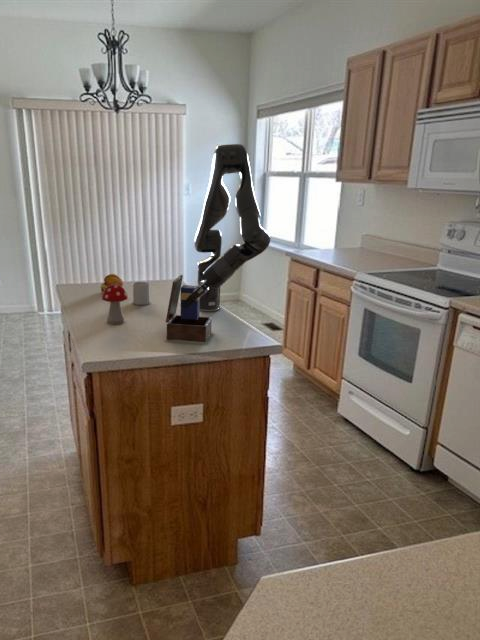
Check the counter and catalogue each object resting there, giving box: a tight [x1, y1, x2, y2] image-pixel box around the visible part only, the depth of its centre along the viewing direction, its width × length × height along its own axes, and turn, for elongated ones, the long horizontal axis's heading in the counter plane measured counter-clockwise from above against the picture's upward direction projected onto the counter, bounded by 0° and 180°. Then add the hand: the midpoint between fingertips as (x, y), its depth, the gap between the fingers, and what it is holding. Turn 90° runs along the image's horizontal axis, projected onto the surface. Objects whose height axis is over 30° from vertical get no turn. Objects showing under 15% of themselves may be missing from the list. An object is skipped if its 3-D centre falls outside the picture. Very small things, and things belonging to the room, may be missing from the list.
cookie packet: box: [180, 284, 201, 320], centre depth 187 cm, size 6×5×11 cm
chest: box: [166, 314, 213, 343], centre depth 190 cm, size 14×13×6 cm
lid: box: [165, 274, 184, 324], centre depth 187 cm, size 15×13×1 cm
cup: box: [132, 281, 150, 306], centre depth 238 cm, size 7×10×9 cm
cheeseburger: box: [99, 273, 124, 293], centre depth 256 cm, size 10×11×10 cm
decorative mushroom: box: [101, 284, 129, 325], centre depth 206 cm, size 10×9×15 cm
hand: (185, 304), depth 187 cm, fingers closed on cookie packet, 4 cm apart
